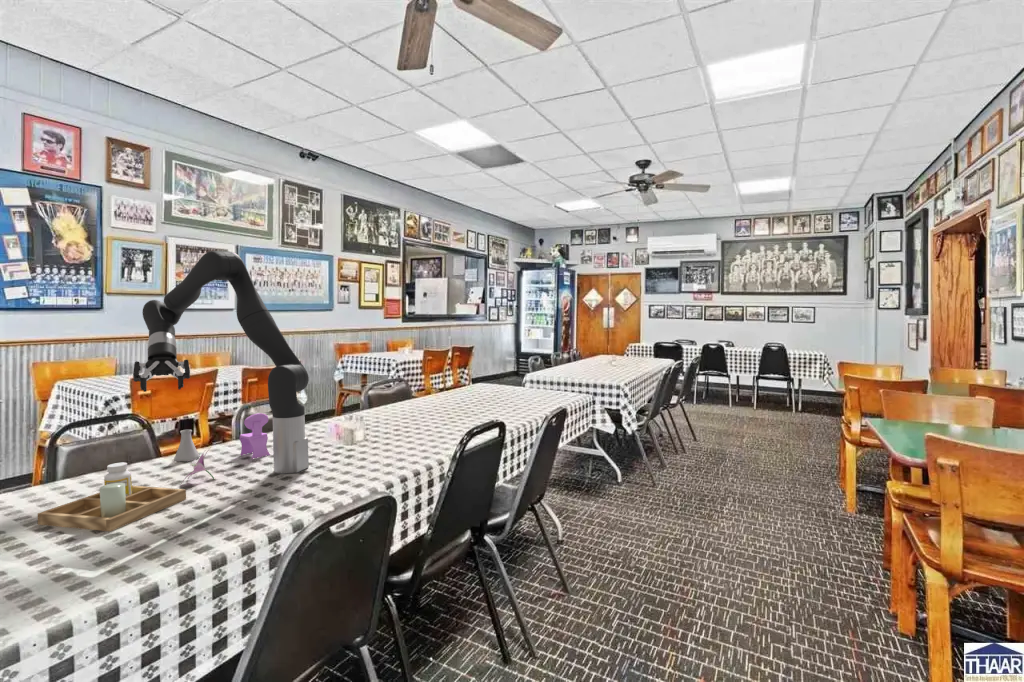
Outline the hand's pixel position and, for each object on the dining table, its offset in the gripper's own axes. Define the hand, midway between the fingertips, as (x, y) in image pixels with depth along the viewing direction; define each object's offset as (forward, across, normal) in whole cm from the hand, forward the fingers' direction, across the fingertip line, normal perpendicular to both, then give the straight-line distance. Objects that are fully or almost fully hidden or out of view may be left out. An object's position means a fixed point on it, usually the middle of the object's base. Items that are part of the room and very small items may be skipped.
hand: (162, 389), depth 149 cm
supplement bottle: (+34, -9, +3) cm, 35 cm away
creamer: (+44, -9, -7) cm, 45 cm away
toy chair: (+11, +26, +27) cm, 39 cm away
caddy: (+39, -9, -2) cm, 40 cm away
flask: (+6, +6, +32) cm, 33 cm away
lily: (+27, +8, +12) cm, 30 cm away
